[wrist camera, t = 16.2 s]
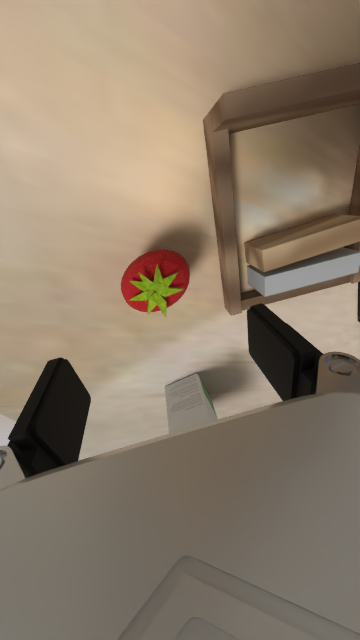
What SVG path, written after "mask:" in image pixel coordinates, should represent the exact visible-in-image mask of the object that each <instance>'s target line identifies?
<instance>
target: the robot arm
mask: <svg viewBox="0 0 360 640" xmlns="http://www.w3.org/2000/svg"><path fill="white" fill-rule="evenodd" d="M247 323H248V344H249V353H250V355H251V357H252V358H253V360H254V361H255V362H256V364H257V365H258V367H259V368H260V369H261V371H262V372H263V374H264V375H265V376H266V378H267V379H268V381H269V382H270V383H271V385H272V386H273V388H274V389H275V390H276V392H277V393H278V395H279V396H280V397H281V399H282V400H283V401H282V402H278V403H275V404H271V405H267V406H264V407H260V408H256V409H253V410H249V411H246V412H242V413H239V414H235V415H232V416H229V417H225V418H222V419H218V420H215V421H211V422H208V423H204V424H201V425H197V426H194V427H191V428H187V429H184V430H180V431H177V432H174V433H170V434H167V435H163V436H160V437H157V438H153V439H150V440H147V441H143V442H140V443H136V444H133V445H130V446H126V447H123V448H120V449H116V450H113V451H110V452H107V453H103V454H100V455H97V456H93V457H90V458H87V459H83V460H80V461H78V458H79V453H80V449H81V444H82V439H83V435H84V430H85V425H86V421H87V416H88V411H89V407H90V402H91V398H90V395H89V393H88V391H87V390H86V388H85V387H84V385H83V383H82V382H81V380H80V379H79V377H78V375H77V374H76V372H75V371H74V369H73V367H72V366H71V364H70V363H69V361H68V360H67V359H63V358H57V359H53V360H50V361H48V362H47V364H46V366H45V368H44V370H43V372H42V374H41V376H40V378H39V380H38V381H37V383H36V385H35V387H34V389H33V391H32V393H31V395H30V397H29V399H28V401H27V403H26V405H25V406H24V408H23V410H22V412H21V414H20V416H19V418H18V420H17V422H16V424H15V426H14V428H13V430H12V431H11V433H10V435H9V437H8V439H9V440H10V442H9V444H8V446H0V640H360V360H359V359H357V358H356V357H354V356H352V355H349V354H346V353H342V352H328V353H325V354H323V353H321V352H320V351H319V350H318V349H317V348H315V347H314V346H313V345H312V344H311V343H310V342H308V341H307V340H306V339H305V338H304V337H303V336H301V335H300V334H299V333H298V332H297V331H295V330H294V329H293V328H292V327H291V326H290V325H288V324H287V323H285V322H284V321H282V320H281V319H280V318H279V317H278V316H277V315H275V314H274V313H273V312H272V311H271V310H270V309H268V308H267V307H266V306H265V305H264V304H262V303H260V304H257V305H253V306H251V307H250V309H249V310H247Z"/></svg>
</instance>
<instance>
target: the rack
mask: <svg viewBox="0 0 360 640" xmlns="http://www.w3.org/2000/svg"><path fill="white" fill-rule="evenodd" d="M355 104H360V63H358V64H353V65H349V66H344V67H340V68H336V69H331V70H327V71H322V72H318V73H313V74H309V75H304V76H300V77H295V78H291V79H286V80H282V81H277V82H273V83H268V84H264V85H259V86H255V87H250V88H246V89H241V90H237V91H233V92H228V93H224V94H223V95H222V96H221V97H220V99H219V100H218V101H217V102H216V104H215V105H214V106H213V108H212V109H211V110H210V112H209V113H208V114H207V115H206V117H205V118H204V119H203V124H204V132H205V141H206V149H207V158H208V167H209V175H210V184H211V192H212V201H213V209H214V218H215V227H216V235H217V244H218V252H219V261H220V269H221V278H222V287H223V295H224V304H225V308H226V310H227V311H228V312H229V313H230V315H235V314H239V313H242V311H243V310H246V309H250V307H251V306H253V305H257V304H260V303H262V304H264V305H265V304H269V303H273V302H277V301H280V300H284V299H288V298H292V297H296V296H299V295H303V294H307V293H311V292H315V291H318V290H322V289H326V288H330V287H333V286H337V285H341V284H345V283H349V282H350V283H356V282H360V266H359V271H358V273H354V274H350V275H346V276H342V277H338V278H335V279H331V280H327V281H323V282H319V283H316V284H312V285H308V286H304V287H300V288H297V289H293V290H289V291H285V292H281V293H278V294H274V295H270V296H266V297H265V296H263V295H262V294H261V293H259V292H258V291H257V290H254V291H251V292H247V293H243V294H240V281H239V268H238V255H237V241H236V228H235V214H234V201H233V187H232V174H231V160H230V147H229V134H230V133H234V132H238V131H243V130H247V129H251V128H256V127H260V126H264V125H269V124H273V123H277V122H282V121H286V120H290V119H295V118H299V117H303V116H308V115H312V114H316V113H321V112H325V111H329V110H334V109H338V108H342V107H347V106H351V105H355ZM349 215H352V216H360V147H359V154H358V160H357V166H356V172H355V178H354V184H353V191H352V197H351V203H350V209H349ZM343 248H347V249H352V250H356V251H360V241H359V242H356V243H353V244H350V245H347V246H344V247H343Z"/></svg>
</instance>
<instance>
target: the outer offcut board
mask: <svg viewBox="0 0 360 640" xmlns="http://www.w3.org/2000/svg"><path fill="white" fill-rule="evenodd" d="M359 266H360V251H356V250H352V249H347V248H343V247H341V248H338V249H334V250H331V251H328V252H325V253H322V254H319V255H316V256H313V257H310V258H307V259H304V260H300V261H297V262H294V263H291V264H288V265H285V266H282V267H279V268H276V269H273V270H269V271H266V272H263V271H261V270H259V269H258V268H256V267H254V266H252V265H251V266H247V277H248V284H249V285H250V286H251V287H253V288H254V289H255V290H257V291H258V292H259V293H261V294H262V295H263V296H265V297H266V296H270V295H274V294H278V293H281V292H285V291H289V290H293V289H297V288H300V287H304V286H308V285H312V284H316V283H319V282H323V281H327V280H331V279H335V278H338V277H342V276H346V275H350V274H354V273H358V271H359Z"/></svg>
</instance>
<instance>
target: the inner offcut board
mask: <svg viewBox="0 0 360 640" xmlns="http://www.w3.org/2000/svg"><path fill="white" fill-rule="evenodd" d="M359 241H360V216H352V215H336V214H333V215H330V216H327V217H324V218H321V219H318V220H314V221H311V222H308V223H305V224H302V225H299V226H296V227H293V228H290V229H286V230H283V231H280V232H277V233H274V234H271V235H268V236H265V237H262V238H259V239H255V240H252V241H249V242H246V243H244V247H245V255H246V262H247V263H249V264H251V265H252V266H254V267H256V268H258V269H259V270H261V271H263V272H266V271H269V270H273V269H276V268H279V267H282V266H285V265H288V264H291V263H294V262H297V261H300V260H304V259H307V258H310V257H313V256H316V255H319V254H322V253H325V252H328V251H331V250H334V249H338V248H341V247H344V246H347V245H350V244H353V243H356V242H359Z"/></svg>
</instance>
